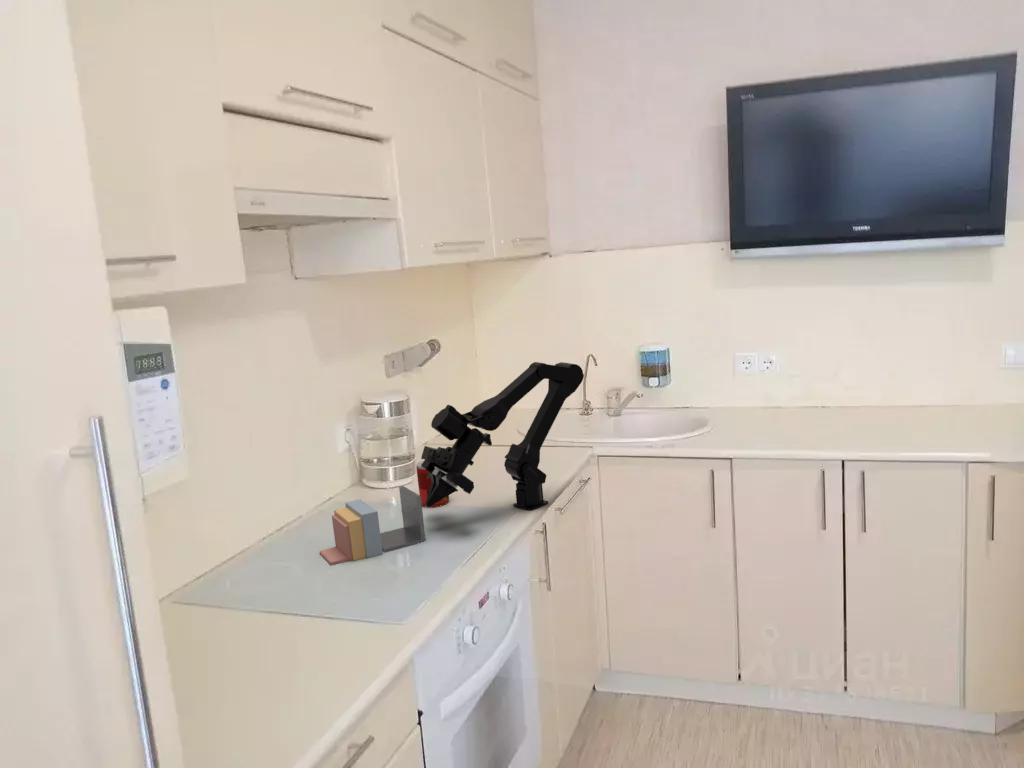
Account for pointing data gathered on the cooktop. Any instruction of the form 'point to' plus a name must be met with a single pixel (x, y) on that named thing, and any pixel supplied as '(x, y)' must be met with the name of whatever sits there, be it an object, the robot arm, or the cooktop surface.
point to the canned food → (426, 486)
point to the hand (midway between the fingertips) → (427, 505)
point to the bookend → (406, 523)
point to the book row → (354, 533)
